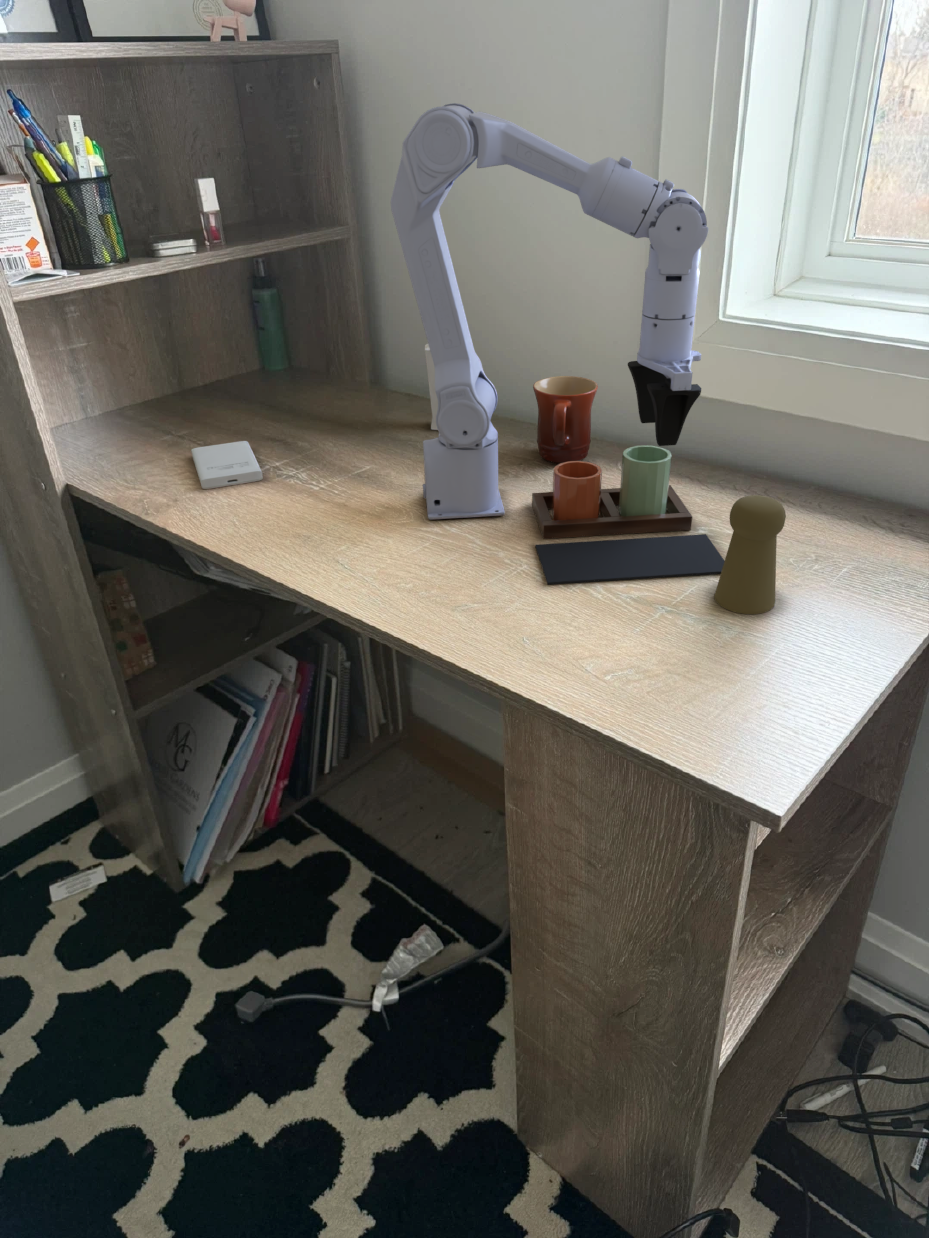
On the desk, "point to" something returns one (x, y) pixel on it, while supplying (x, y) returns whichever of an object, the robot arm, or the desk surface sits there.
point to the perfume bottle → (431, 385)
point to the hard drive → (226, 465)
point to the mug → (564, 417)
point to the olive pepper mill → (751, 556)
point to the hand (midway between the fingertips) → (657, 433)
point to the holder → (610, 518)
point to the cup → (644, 480)
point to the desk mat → (629, 559)
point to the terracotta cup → (576, 490)
